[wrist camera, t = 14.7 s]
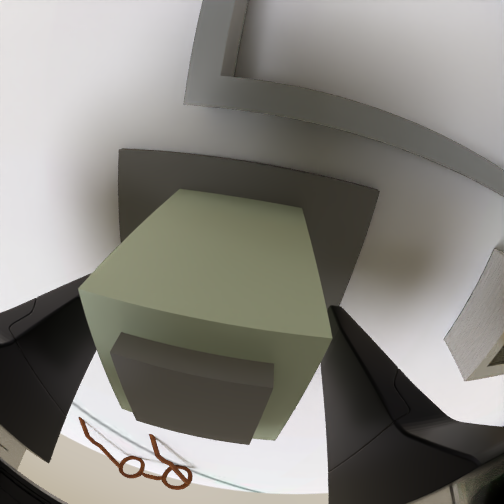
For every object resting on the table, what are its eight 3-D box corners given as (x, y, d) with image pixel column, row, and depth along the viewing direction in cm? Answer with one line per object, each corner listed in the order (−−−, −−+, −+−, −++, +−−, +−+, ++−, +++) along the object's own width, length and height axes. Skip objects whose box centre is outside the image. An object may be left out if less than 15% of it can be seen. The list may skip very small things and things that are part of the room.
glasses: (126, 452, 33) (119, 475, 28) (79, 414, 27) (67, 441, 23) (196, 466, 31) (190, 493, 26) (154, 431, 25) (143, 466, 20)
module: (301, 208, 11) (337, 363, 4) (278, 305, 13) (274, 456, 7) (179, 188, 11) (62, 306, 4) (177, 287, 13) (115, 422, 7)
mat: (377, 189, 10) (379, 191, 10) (325, 331, 14) (325, 335, 14) (122, 148, 10) (118, 149, 10) (129, 295, 14) (127, 298, 14)
